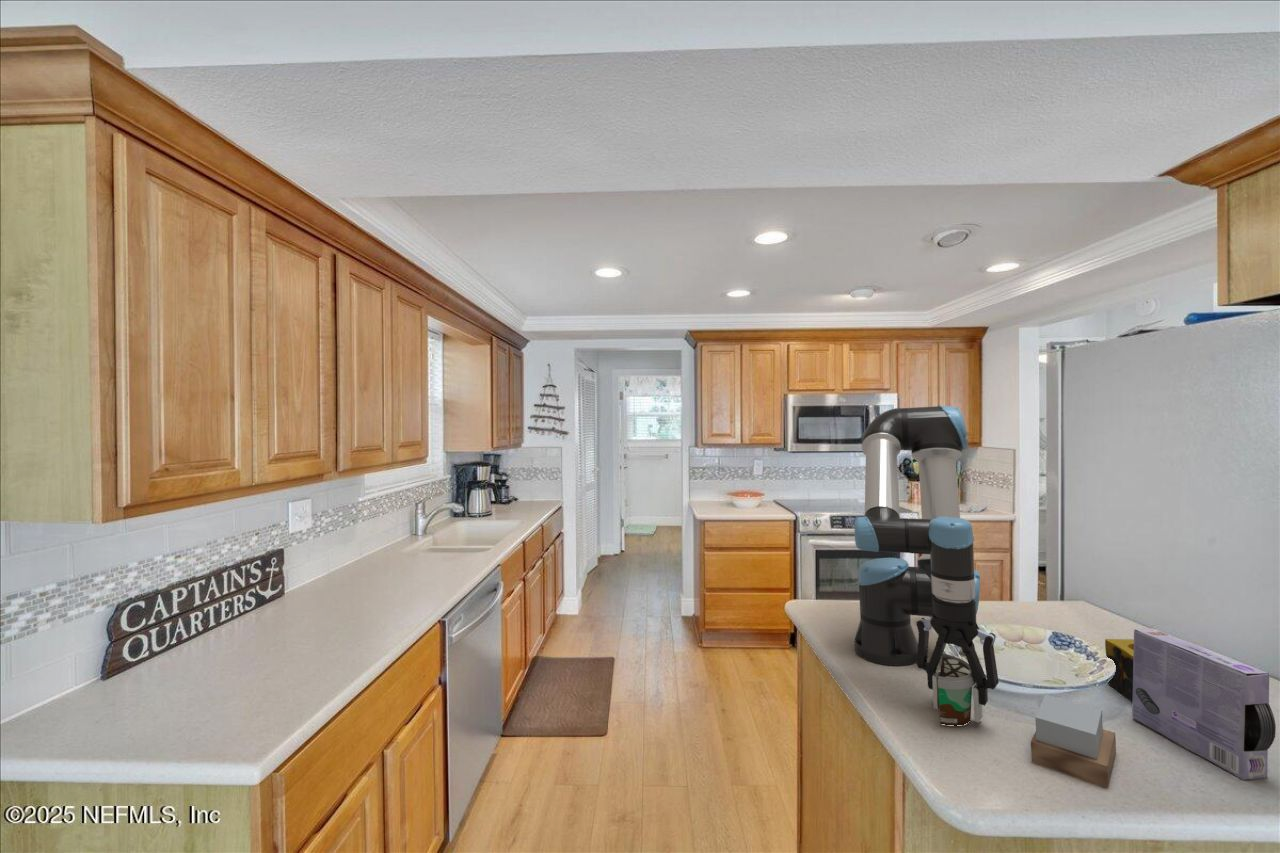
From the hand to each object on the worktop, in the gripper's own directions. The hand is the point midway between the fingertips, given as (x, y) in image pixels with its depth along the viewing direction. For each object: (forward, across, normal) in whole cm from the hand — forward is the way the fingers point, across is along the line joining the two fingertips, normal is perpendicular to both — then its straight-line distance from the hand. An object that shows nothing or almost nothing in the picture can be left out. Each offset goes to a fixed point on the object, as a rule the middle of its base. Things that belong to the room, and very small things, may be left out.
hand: (957, 712), depth 107 cm
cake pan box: (+1, +33, +16) cm, 37 cm away
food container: (+1, 0, 0) cm, 1 cm away
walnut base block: (+1, +18, -1) cm, 18 cm away
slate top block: (-3, +18, -1) cm, 18 cm away
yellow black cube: (+1, +26, +33) cm, 42 cm away
